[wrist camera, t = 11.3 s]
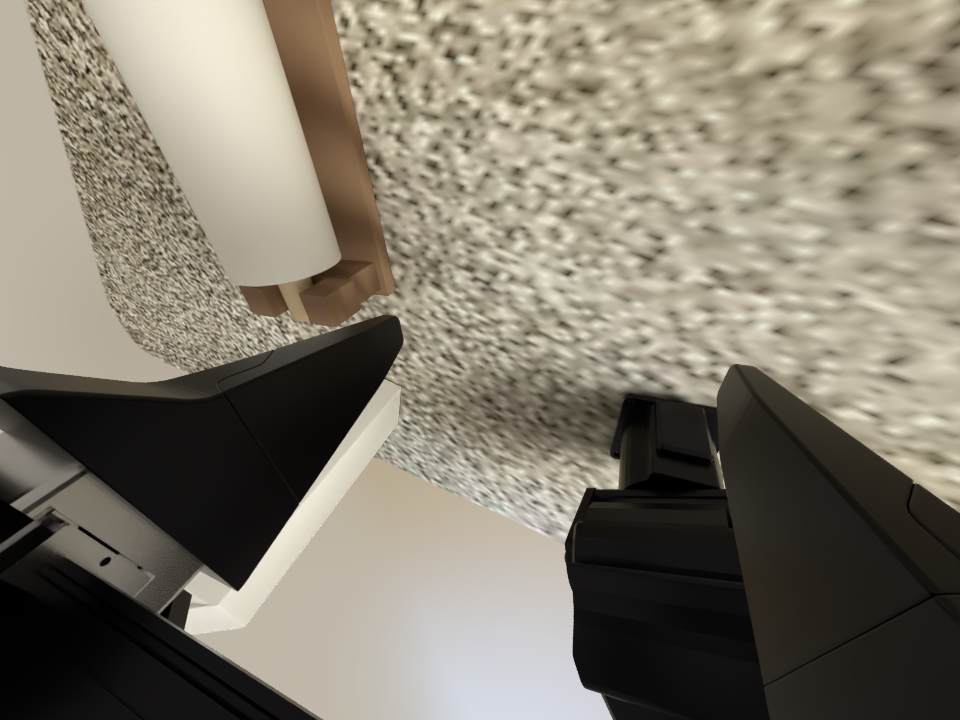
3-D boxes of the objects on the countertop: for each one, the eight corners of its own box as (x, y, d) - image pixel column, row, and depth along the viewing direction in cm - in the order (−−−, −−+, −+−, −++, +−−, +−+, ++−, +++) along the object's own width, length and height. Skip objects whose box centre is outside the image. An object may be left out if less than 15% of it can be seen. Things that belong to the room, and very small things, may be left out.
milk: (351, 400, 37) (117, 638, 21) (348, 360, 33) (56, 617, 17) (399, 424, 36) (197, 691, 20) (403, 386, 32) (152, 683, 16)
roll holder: (395, 290, 26) (338, 334, 21) (323, 282, 28) (256, 320, 23) (271, -258, 13) (41, -481, 8) (154, -190, 15) (-82, -330, 10)
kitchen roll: (375, 308, 23) (282, 352, 19) (327, 287, 27) (241, 321, 23) (194, -345, 10) (-192, -599, 6) (147, -218, 14) (-121, -334, 10)
